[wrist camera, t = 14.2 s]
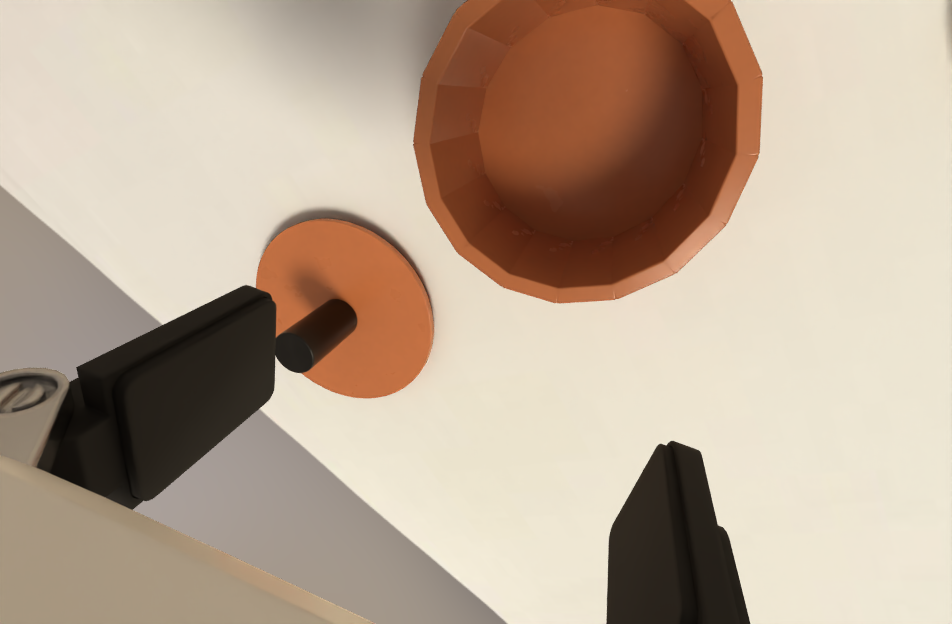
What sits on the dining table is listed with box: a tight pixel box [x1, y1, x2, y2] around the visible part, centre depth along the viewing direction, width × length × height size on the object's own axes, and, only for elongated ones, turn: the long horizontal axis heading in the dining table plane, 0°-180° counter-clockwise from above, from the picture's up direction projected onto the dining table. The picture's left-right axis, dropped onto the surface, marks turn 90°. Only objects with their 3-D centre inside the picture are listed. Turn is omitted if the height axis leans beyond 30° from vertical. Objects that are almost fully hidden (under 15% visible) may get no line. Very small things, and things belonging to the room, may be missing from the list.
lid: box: [256, 219, 434, 398], centre depth 29 cm, size 13×13×6 cm
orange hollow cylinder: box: [413, 0, 763, 303], centre depth 19 cm, size 12×12×8 cm
